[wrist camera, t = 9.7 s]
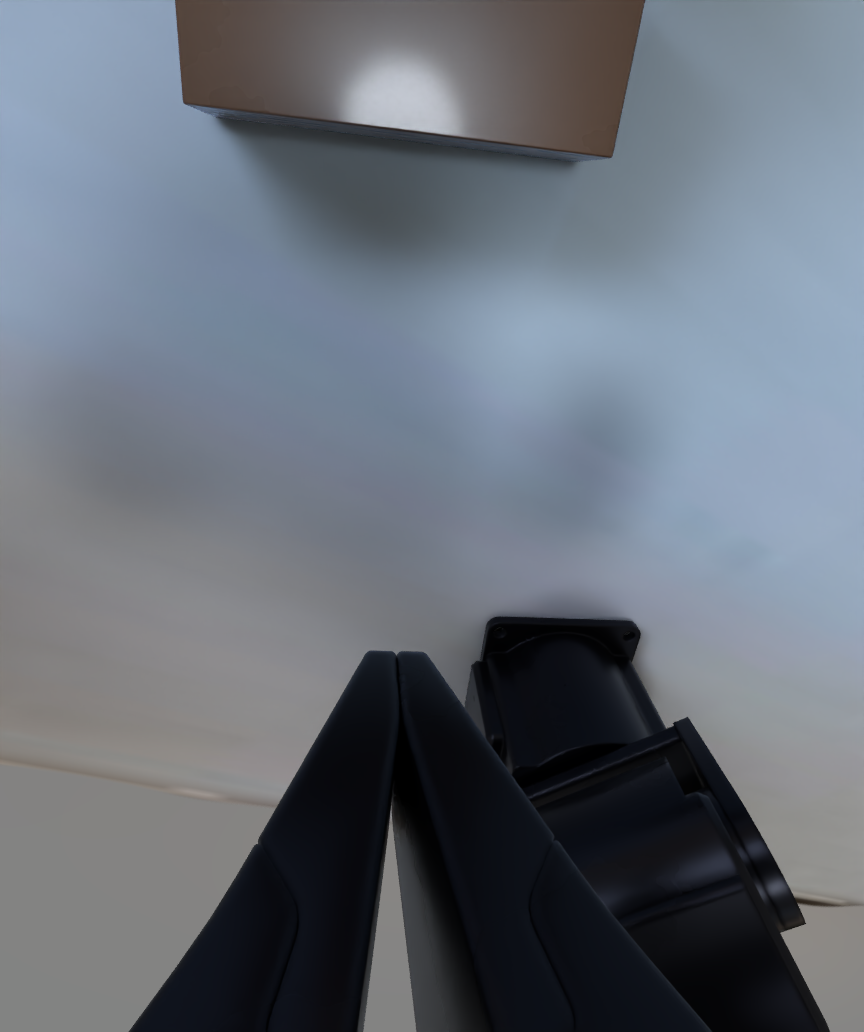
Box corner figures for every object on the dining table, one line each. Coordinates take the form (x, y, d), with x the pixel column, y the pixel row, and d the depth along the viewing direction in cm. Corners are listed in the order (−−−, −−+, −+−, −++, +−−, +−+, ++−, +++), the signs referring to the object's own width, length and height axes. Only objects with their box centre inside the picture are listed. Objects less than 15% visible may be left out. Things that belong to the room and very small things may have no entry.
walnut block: (610, -20, 15) (659, -62, 13) (577, 162, 17) (612, 158, 15) (202, -86, 14) (163, -147, 12) (214, 117, 16) (182, 104, 13)
